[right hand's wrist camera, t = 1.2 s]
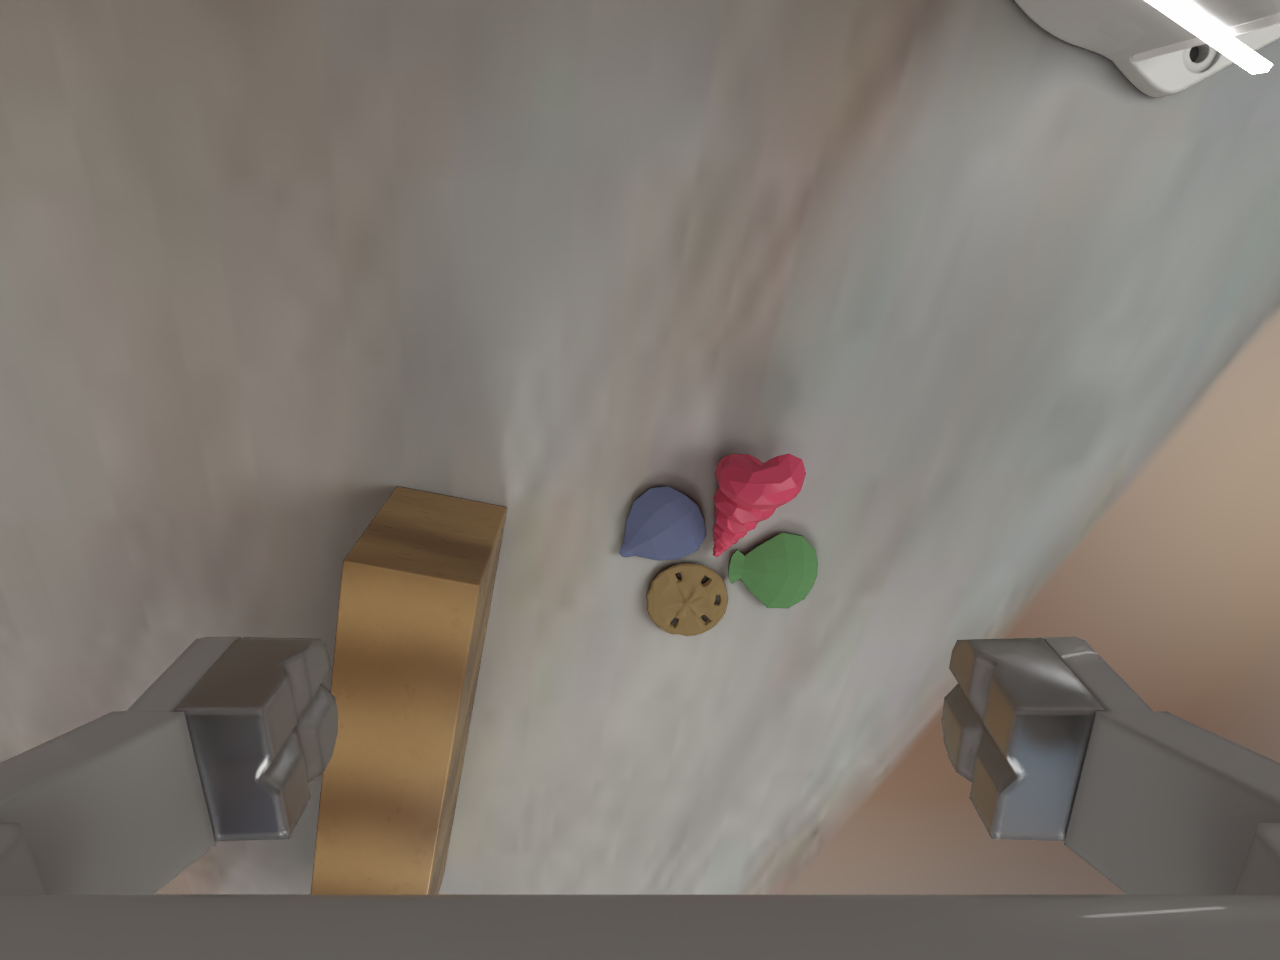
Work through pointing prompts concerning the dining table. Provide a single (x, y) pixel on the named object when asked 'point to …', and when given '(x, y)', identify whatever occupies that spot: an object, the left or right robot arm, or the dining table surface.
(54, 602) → the dining table surface
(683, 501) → the toy pieces
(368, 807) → the box
